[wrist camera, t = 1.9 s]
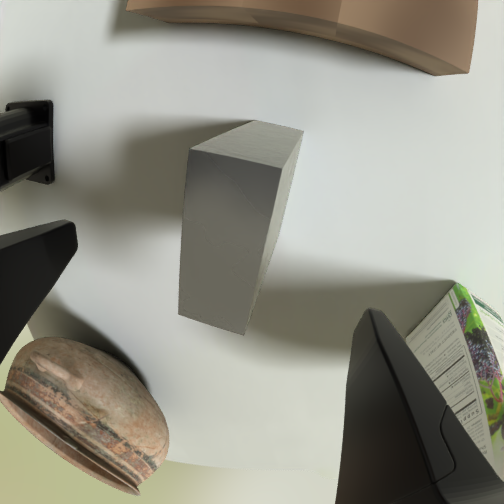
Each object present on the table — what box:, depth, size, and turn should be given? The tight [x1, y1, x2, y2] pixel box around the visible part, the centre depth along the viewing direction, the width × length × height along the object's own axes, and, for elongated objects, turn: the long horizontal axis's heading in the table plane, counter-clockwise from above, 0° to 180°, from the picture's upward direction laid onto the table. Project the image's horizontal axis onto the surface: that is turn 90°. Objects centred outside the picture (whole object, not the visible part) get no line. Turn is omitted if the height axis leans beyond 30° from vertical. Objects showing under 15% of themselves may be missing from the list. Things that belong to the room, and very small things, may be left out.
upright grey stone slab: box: [178, 120, 304, 335], centre depth 12 cm, size 2×6×8 cm, turn 170°
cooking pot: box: [0, 337, 169, 496], centre depth 25 cm, size 25×19×12 cm
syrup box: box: [406, 283, 504, 481], centre depth 11 cm, size 6×6×14 cm
